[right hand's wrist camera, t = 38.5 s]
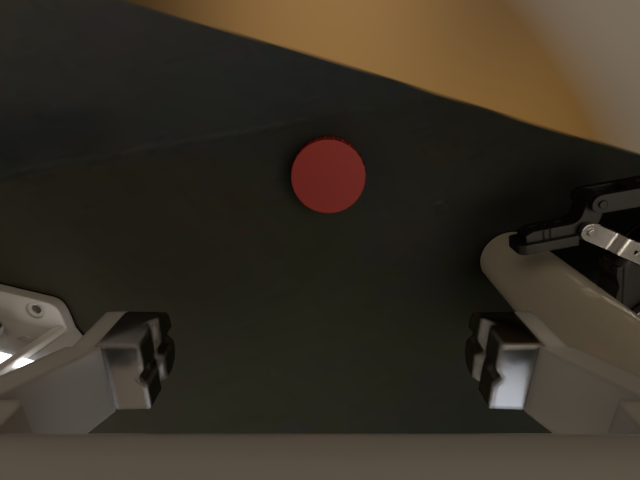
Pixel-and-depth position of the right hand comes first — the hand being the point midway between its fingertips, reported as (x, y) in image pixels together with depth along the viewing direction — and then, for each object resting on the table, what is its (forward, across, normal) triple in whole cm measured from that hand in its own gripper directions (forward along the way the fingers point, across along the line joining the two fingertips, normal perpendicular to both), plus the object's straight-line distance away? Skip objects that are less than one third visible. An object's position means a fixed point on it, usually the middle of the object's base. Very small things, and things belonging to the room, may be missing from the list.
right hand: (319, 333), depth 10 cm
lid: (+20, +1, 0) cm, 20 cm away
